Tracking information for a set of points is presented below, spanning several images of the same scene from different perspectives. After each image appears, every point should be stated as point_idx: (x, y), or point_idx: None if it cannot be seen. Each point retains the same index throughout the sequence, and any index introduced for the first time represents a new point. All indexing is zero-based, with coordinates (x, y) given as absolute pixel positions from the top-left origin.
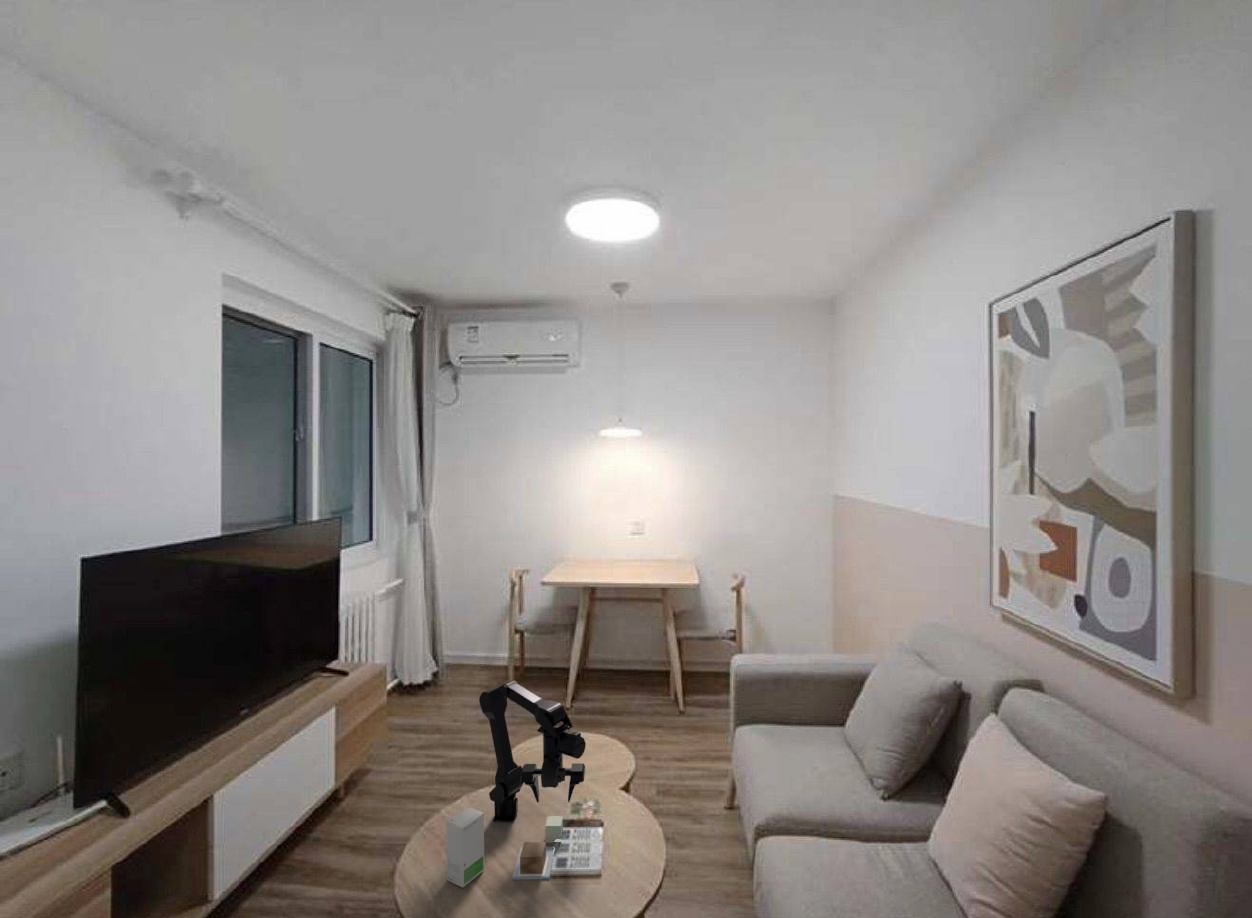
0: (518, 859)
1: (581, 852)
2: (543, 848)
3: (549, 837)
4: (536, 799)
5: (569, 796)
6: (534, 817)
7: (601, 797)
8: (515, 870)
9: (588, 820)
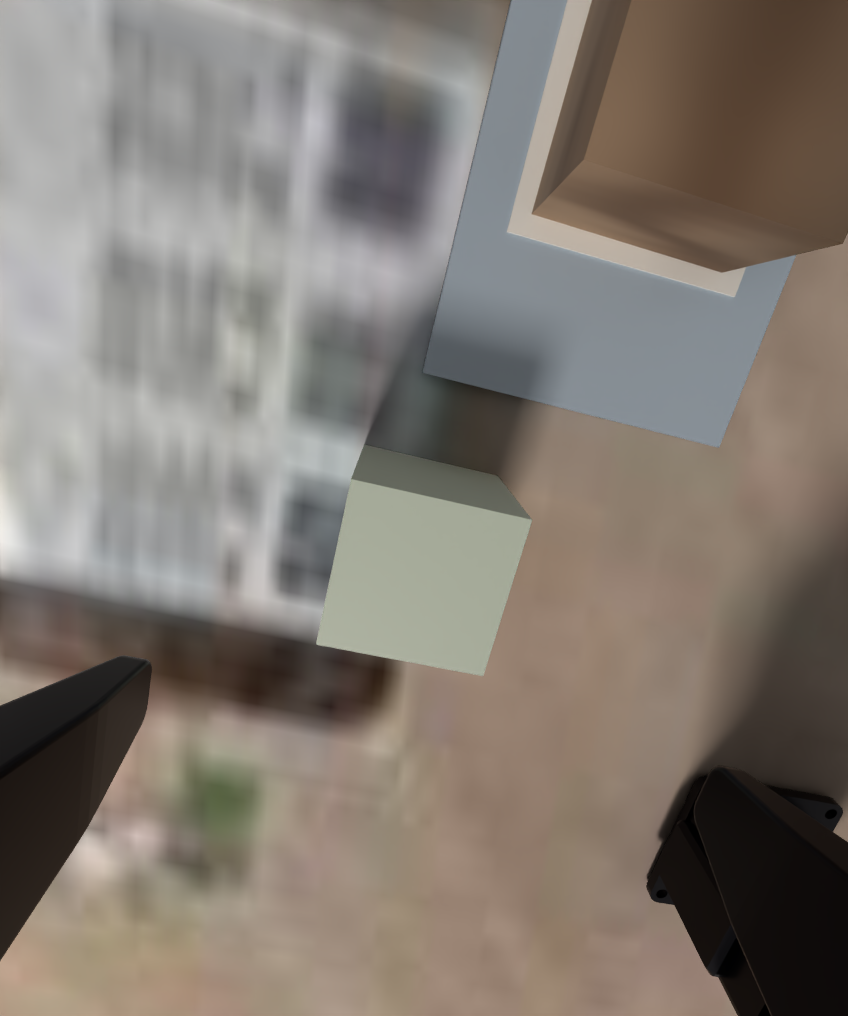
0: (774, 278)
1: (184, 254)
2: (638, 13)
3: (469, 477)
4: (798, 809)
5: (30, 721)
6: (539, 786)
7: None
8: None
9: None
